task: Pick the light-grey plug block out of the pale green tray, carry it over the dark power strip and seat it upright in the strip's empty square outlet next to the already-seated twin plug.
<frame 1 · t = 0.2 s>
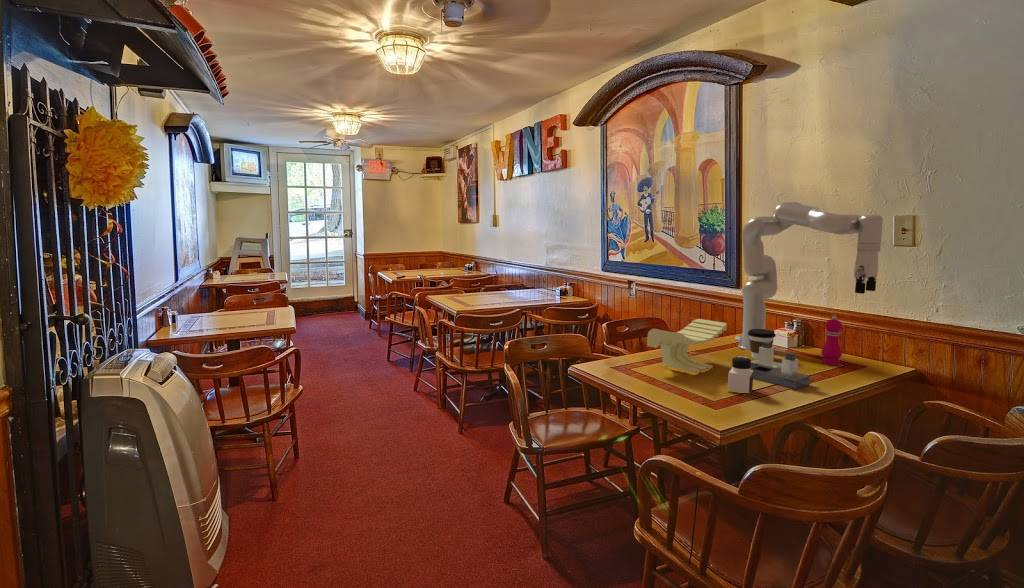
hand: (865, 291, 212), 31 cm above the table, tool pointing down, fingers open, 9 cm apart
slatted curved stool: (686, 368, 222), on the table
coffee cup: (760, 359, 234), on the table
plug: (765, 366, 220), point 1 cm above the table, touching tray
tray: (765, 368, 220), on the table
pepper mill: (830, 364, 225), on the table
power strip: (770, 379, 205), on the table
medicine bottle: (740, 391, 193), on the table
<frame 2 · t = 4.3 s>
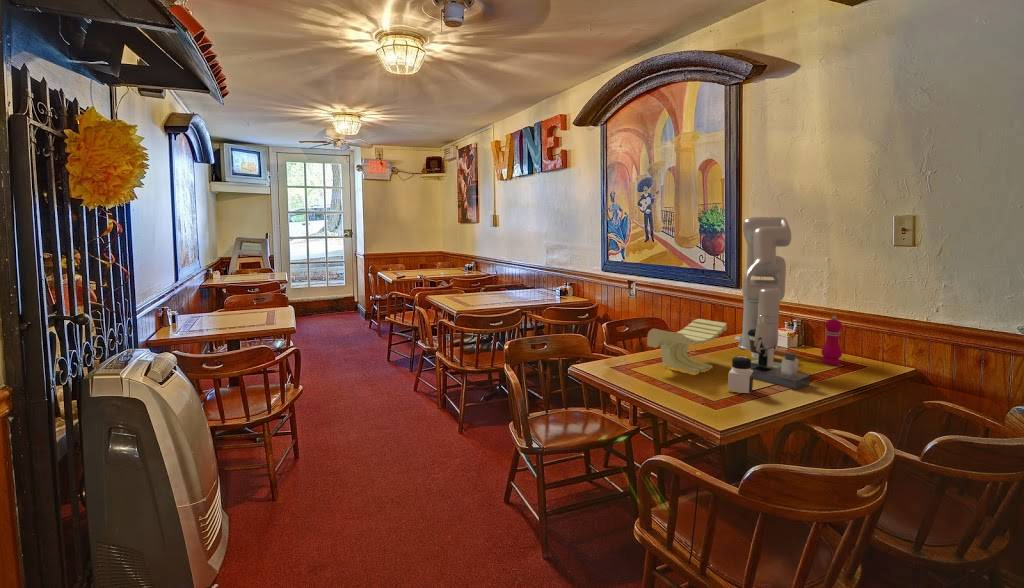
hand: (765, 363, 219), 2 cm above the table, tool pointing down, fingers closed on plug, 4 cm apart
plug: (765, 366, 220), point 1 cm above the table, touching gripper, tray
everything else where it was.
when the fingers open (4 cm above the table, at t = 8.5 s): plug drops 2 cm, resting on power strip.
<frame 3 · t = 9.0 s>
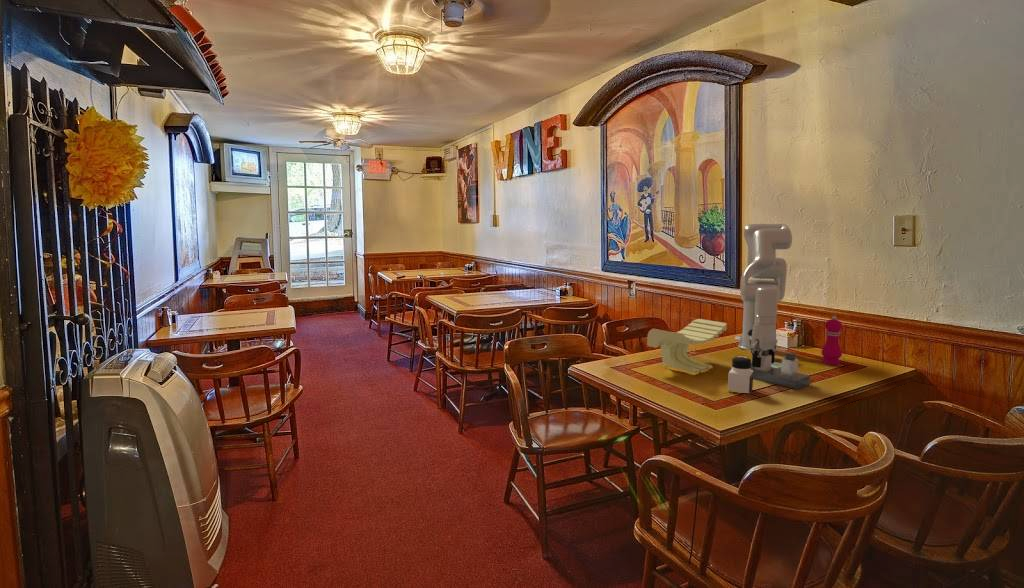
hand: (763, 364, 207), 5 cm above the table, tool pointing down, fingers open, 9 cm apart
plug: (762, 375, 207), point 1 cm above the table, touching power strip
everything else where it was.
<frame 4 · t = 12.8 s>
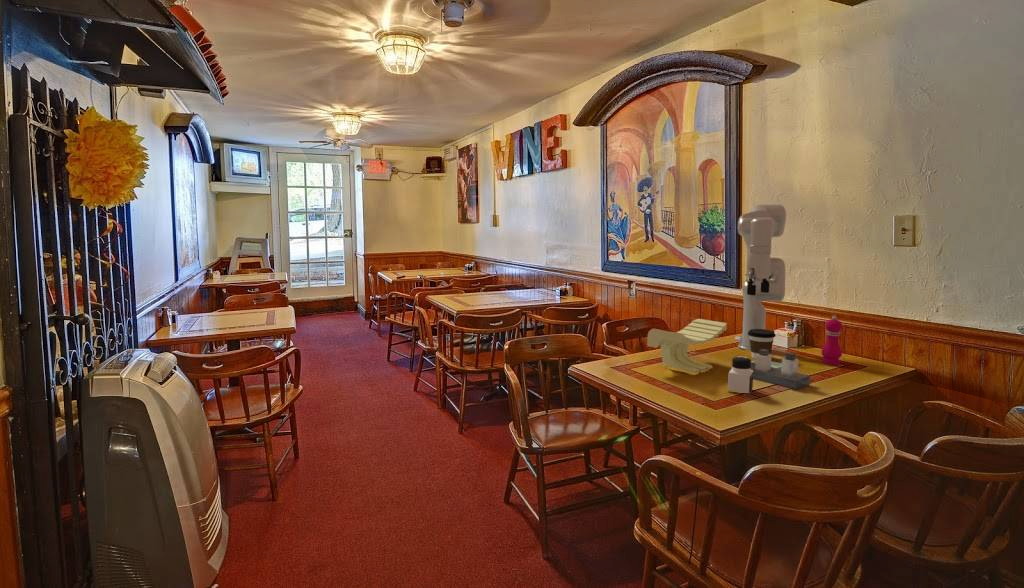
hand: (758, 293, 216), 30 cm above the table, tool pointing down, fingers open, 9 cm apart
nothing on the table moved.
at the end: plug 0.1 cm from the target spot on the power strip, point 0.9 cm above the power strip's base; plug tilted 0°; the gripper is holding nothing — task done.
